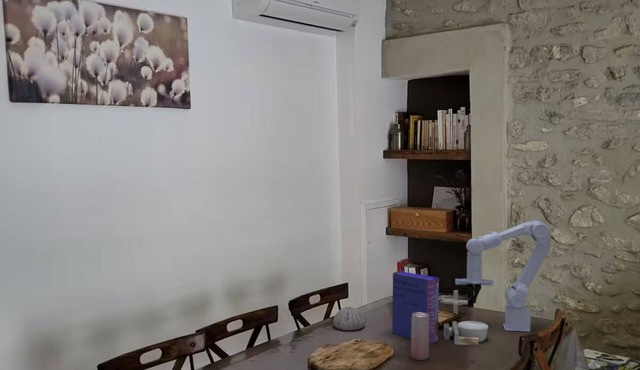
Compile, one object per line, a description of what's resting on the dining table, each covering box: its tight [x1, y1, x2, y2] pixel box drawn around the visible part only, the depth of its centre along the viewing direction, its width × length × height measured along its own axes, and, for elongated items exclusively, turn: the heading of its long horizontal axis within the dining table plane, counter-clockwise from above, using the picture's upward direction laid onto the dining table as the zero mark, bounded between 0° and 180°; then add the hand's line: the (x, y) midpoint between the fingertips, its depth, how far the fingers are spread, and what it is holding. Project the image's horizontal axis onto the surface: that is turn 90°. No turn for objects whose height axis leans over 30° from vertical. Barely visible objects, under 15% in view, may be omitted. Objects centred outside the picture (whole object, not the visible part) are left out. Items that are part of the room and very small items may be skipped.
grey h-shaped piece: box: [443, 320, 460, 346], centre depth 232 cm, size 5×16×4 cm, turn 171°
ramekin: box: [457, 320, 489, 343], centre depth 231 cm, size 11×11×5 cm
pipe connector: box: [443, 289, 468, 315], centre depth 265 cm, size 10×10×10 cm
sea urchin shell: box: [332, 306, 367, 331], centre depth 246 cm, size 13×14×8 cm
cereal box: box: [391, 270, 440, 345], centre depth 232 cm, size 17×5×24 cm, turn 47°
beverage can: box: [410, 312, 430, 361], centre depth 210 cm, size 6×6×15 cm
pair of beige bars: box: [457, 324, 480, 347], centre depth 232 cm, size 7×16×2 cm, turn 171°
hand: (473, 302), depth 245 cm, fingers closed
